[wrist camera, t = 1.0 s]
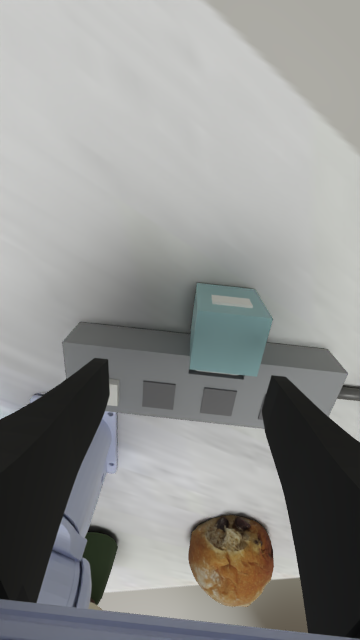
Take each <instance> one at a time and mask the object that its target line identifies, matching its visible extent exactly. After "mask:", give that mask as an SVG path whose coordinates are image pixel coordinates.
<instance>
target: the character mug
mask: <svg viewBox="0 0 360 640" xmlns="http://www.w3.org/2000/svg"><path fill="white" fill-rule="evenodd" d="M85 538H86V539H87V543H86V546H85V550H84V553H83V556H82V557H83V558H85V559H86V560H87V561H88V562H89V564H90V570H91V582H92V587H91V597H90V603H89V608H88V609H94V610H102V609H101V608H100V607H98V606H97V605H98V603H99V601H100V599H101V598H102V596H103V593H104V590H105V587H106V584H107V581H108V578H109V575H110V572H111V569H112V566H113V562H114V559H115V556H116V552H117V548H118V546H117V544H116V542H115V540H114V539H113V538H111V537H110V536H108V535H106V534H101V533H97V532H92V533H87V534H86V536H85Z"/></svg>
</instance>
